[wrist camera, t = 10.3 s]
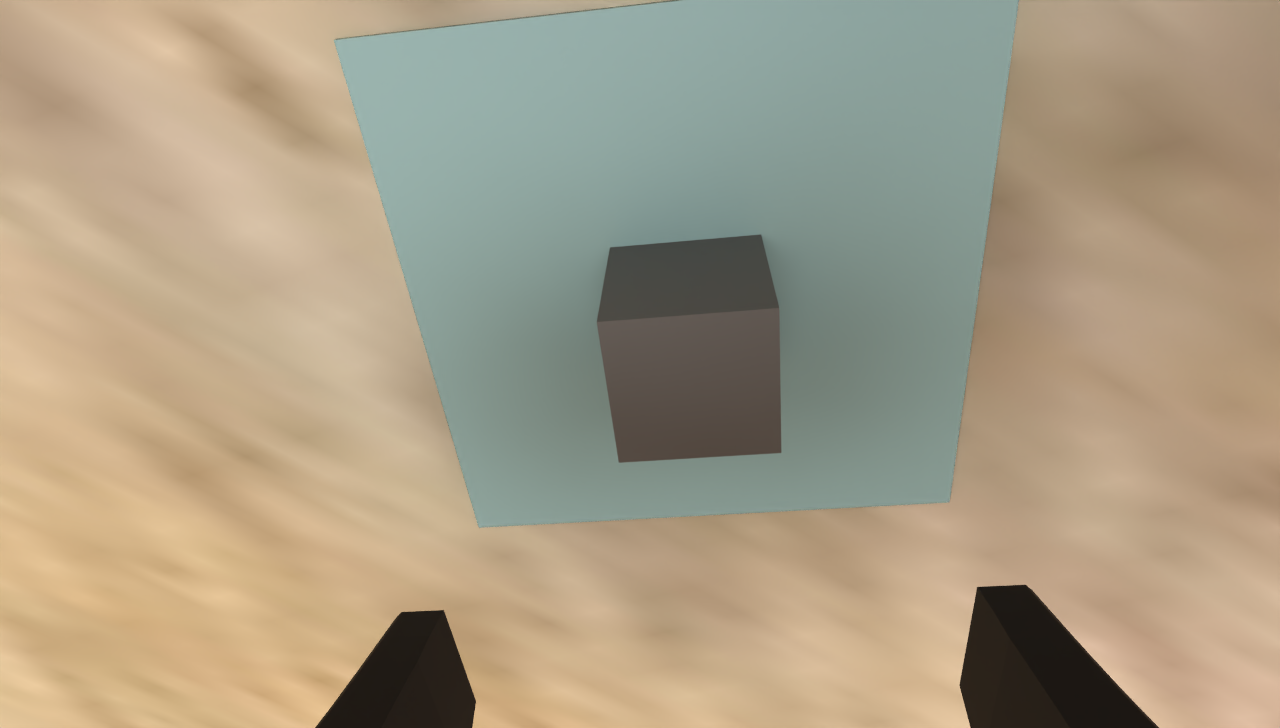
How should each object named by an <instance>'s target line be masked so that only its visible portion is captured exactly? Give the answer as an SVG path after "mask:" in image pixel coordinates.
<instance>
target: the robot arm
mask: <svg viewBox="0 0 1280 728" xmlns="http://www.w3.org/2000/svg"><path fill="white" fill-rule="evenodd" d="M960 689H961V693H962V696H963V700H964V704H965V708H966V712H967V715H968V719H969V723H970V727H971V728H1159V727H1158V726H1157V725H1156V724H1155V723H1154V722H1153V721H1152V720H1151V719H1150V718H1149V717H1148V716H1147V715H1146V714H1145V713H1144V712H1143V711H1142V710H1141V709H1140V708H1139V707H1138V706H1137V705H1136V704H1135V703H1134V702H1133V701H1132V700H1131V699H1130V697H1129V696H1128V695H1127V694H1126V693H1125V692H1124V691H1123V690H1122V689H1121V688H1120V687H1119V686H1118V685H1117V684H1116V683H1115V682H1114V681H1113V679H1112V678H1111V677H1110V676H1109V675H1108V674H1107V673H1106V672H1105V671H1104V670H1103V669H1102V667H1101V666H1100V665H1099V664H1098V663H1097V662H1096V661H1095V660H1094V659H1093V658H1092V657H1091V656H1090V654H1089V653H1088V652H1087V651H1086V650H1085V649H1084V648H1083V647H1082V646H1081V645H1080V643H1079V642H1078V641H1077V640H1076V639H1075V638H1074V637H1073V636H1072V635H1071V633H1070V632H1069V631H1068V630H1067V629H1066V628H1065V627H1064V626H1063V625H1062V623H1061V622H1060V621H1059V620H1058V619H1057V618H1056V617H1055V615H1054V614H1053V613H1052V612H1051V611H1050V610H1049V609H1048V608H1047V606H1046V605H1045V604H1044V603H1043V602H1042V601H1041V600H1040V599H1039V597H1038V596H1037V595H1036V594H1035V593H1034V592H1033V591H1032V590H1031V589H1030V588H1029V587H1028V586H1026V585H1013V586H990V587H977V592H976V597H975V603H974V608H973V614H972V619H971V625H970V631H969V636H968V642H967V647H966V653H965V658H964V664H963V669H962V675H961V680H960ZM475 704H476V700H475V697H474V695H473V692H472V689H471V686H470V683H469V680H468V678H467V675H466V672H465V669H464V666H463V663H462V661H461V658H460V655H459V652H458V649H457V646H456V644H455V641H454V638H453V635H452V632H451V630H450V627H449V624H448V621H447V618H446V615H445V613H444V610H439V611H416V612H401V613H400V614H399V615H398V616H397V618H396V619H395V620H394V621H393V623H392V624H391V626H390V627H389V628H388V630H387V631H386V632H385V634H384V635H383V637H382V638H381V639H380V641H379V642H378V644H377V645H376V646H375V648H374V649H373V651H372V652H371V653H370V655H369V656H368V657H367V659H366V660H365V662H364V663H363V664H362V666H361V667H360V668H359V670H358V671H357V673H356V674H355V675H354V677H353V678H352V679H351V681H350V682H349V684H348V685H347V686H346V688H345V689H344V690H343V692H342V693H341V694H340V696H339V697H338V698H337V700H336V701H335V702H334V704H333V705H332V707H331V708H330V709H329V711H328V712H327V713H326V714H325V716H324V717H323V718H322V720H321V721H320V722H319V724H318V725H317V726H316V727H315V728H472V725H473V718H474V711H475Z"/></svg>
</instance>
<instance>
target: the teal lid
mask: <svg viewBox="0 0 1280 728" xmlns="http://www.w3.org/2000/svg"><path fill="white" fill-rule="evenodd" d="M1018 2H1019V0H672V1H663V2H655V3H646V4H637V5H628V6H620V7H611V8H602V9H594V10H585V11H576V12H567V13H559V14H550V15H541V16H533V17H524V18H515V19H506V20H498V21H489V22H480V23H472V24H463V25H454V26H445V27H437V28H428V29H419V30H411V31H402V32H393V33H384V34H376V35H367V36H358V37H350V38H341V39H335V40H334V42H335V46H336V49H337V52H338V56H339V59H340V63H341V66H342V69H343V73H344V76H345V79H346V83H347V86H348V89H349V93H350V96H351V100H352V103H353V106H354V110H355V113H356V116H357V120H358V123H359V126H360V130H361V133H362V136H363V140H364V143H365V147H366V150H367V153H368V157H369V160H370V163H371V167H372V170H373V173H374V177H375V180H376V184H377V187H378V190H379V194H380V197H381V200H382V204H383V207H384V210H385V214H386V217H387V221H388V224H389V227H390V231H391V234H392V237H393V241H394V244H395V247H396V251H397V254H398V257H399V261H400V264H401V268H402V271H403V274H404V278H405V281H406V284H407V288H408V291H409V294H410V298H411V301H412V305H413V308H414V311H415V315H416V318H417V321H418V325H419V328H420V331H421V335H422V338H423V342H424V345H425V348H426V352H427V355H428V358H429V362H430V365H431V368H432V372H433V375H434V379H435V382H436V385H437V389H438V392H439V395H440V399H441V402H442V405H443V409H444V412H445V415H446V419H447V422H448V426H449V429H450V432H451V436H452V439H453V442H454V446H455V449H456V452H457V456H458V459H459V463H460V466H461V469H462V473H463V476H464V479H465V483H466V486H467V489H468V493H469V496H470V500H471V503H472V506H473V510H474V513H475V516H476V520H477V523H478V526H479V528H481V527H499V526H518V525H537V524H555V523H574V522H593V521H611V520H630V519H648V518H667V517H686V516H704V515H723V514H742V513H760V512H779V511H798V510H816V509H835V508H854V507H872V506H891V505H910V504H928V503H947V502H950V495H951V488H952V481H953V473H954V466H955V459H956V452H957V444H958V437H959V430H960V423H961V415H962V408H963V401H964V394H965V387H966V379H967V372H968V365H969V358H970V350H971V343H972V336H973V329H974V321H975V314H976V307H977V300H978V292H979V285H980V278H981V271H982V263H983V256H984V249H985V242H986V234H987V227H988V220H989V213H990V205H991V198H992V191H993V184H994V176H995V169H996V162H997V155H998V147H999V140H1000V133H1001V126H1002V118H1003V111H1004V104H1005V97H1006V89H1007V82H1008V75H1009V68H1010V60H1011V53H1012V46H1013V39H1014V31H1015V24H1016V17H1017V10H1018Z"/></svg>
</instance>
